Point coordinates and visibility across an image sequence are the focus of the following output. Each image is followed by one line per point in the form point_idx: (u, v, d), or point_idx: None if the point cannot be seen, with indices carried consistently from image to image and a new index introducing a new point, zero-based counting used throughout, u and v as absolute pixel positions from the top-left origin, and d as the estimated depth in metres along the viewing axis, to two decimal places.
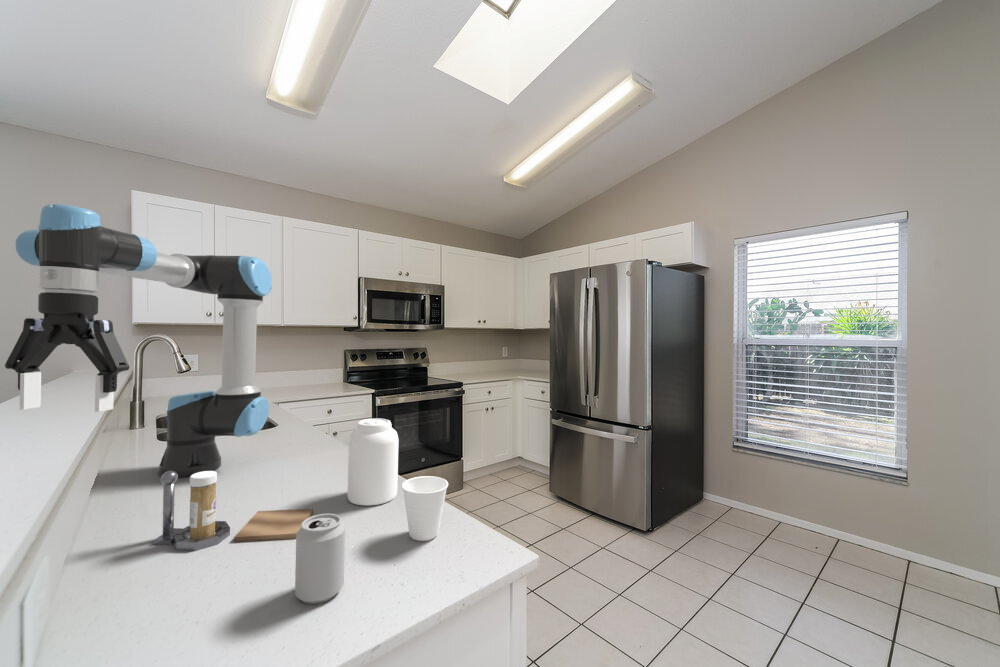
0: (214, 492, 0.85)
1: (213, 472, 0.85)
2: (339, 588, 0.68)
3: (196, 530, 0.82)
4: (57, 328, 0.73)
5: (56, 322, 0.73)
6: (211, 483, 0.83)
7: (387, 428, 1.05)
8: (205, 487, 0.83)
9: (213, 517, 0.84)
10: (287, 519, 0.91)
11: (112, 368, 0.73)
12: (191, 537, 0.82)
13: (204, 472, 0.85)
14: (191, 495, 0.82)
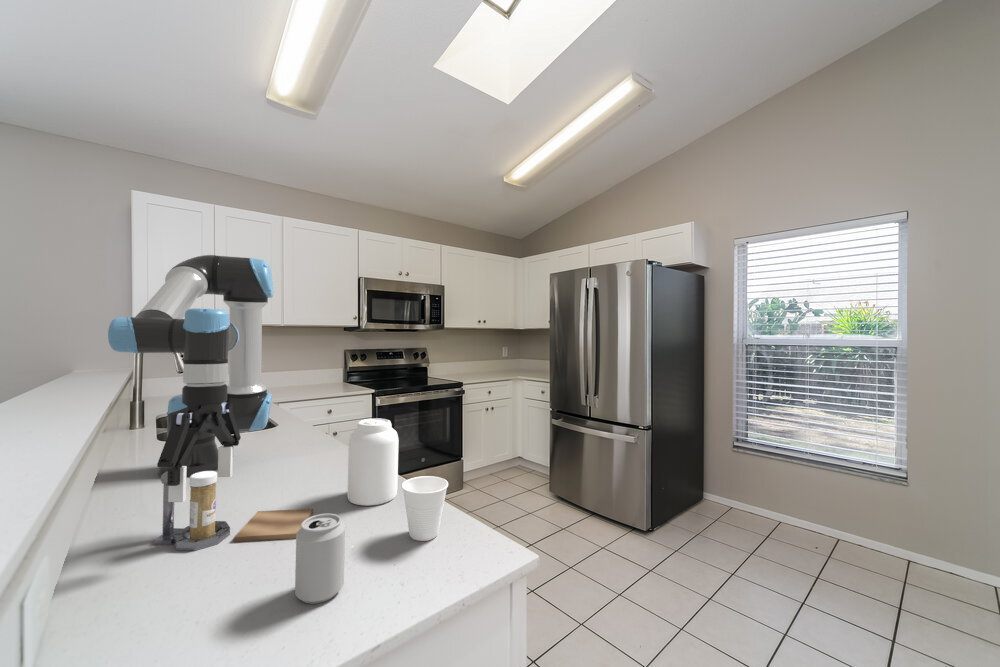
0: (214, 492, 0.85)
1: (213, 472, 0.85)
2: (339, 588, 0.68)
3: (196, 530, 0.82)
4: None
5: None
6: (211, 483, 0.83)
7: (387, 428, 1.05)
8: (205, 487, 0.83)
9: (213, 517, 0.84)
10: (287, 519, 0.91)
11: None
12: (191, 537, 0.82)
13: (204, 472, 0.85)
14: (191, 495, 0.82)
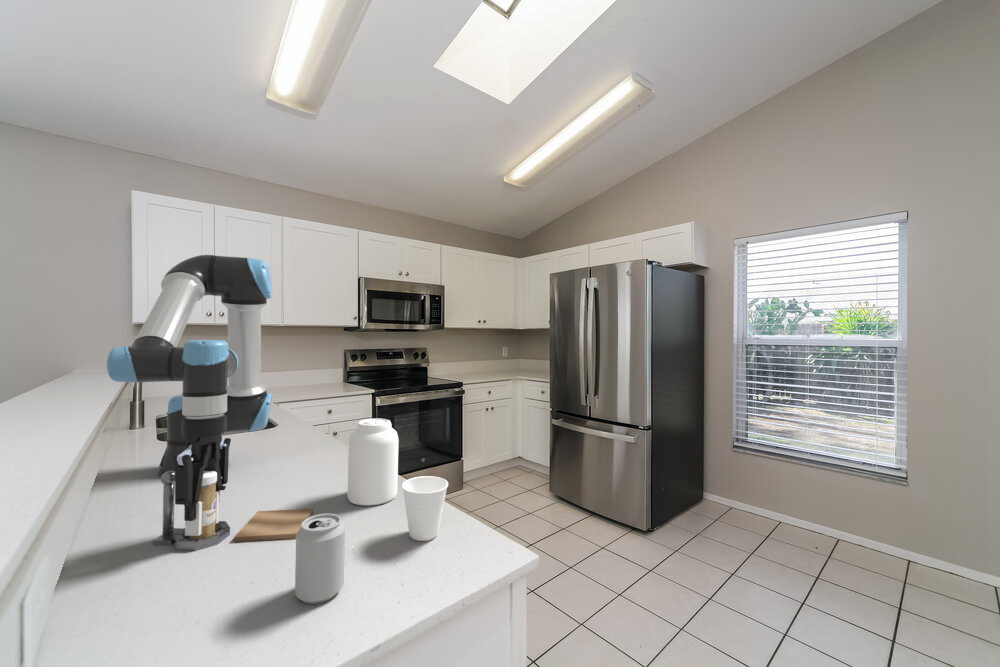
0: (214, 492, 0.85)
1: (213, 472, 0.85)
2: (339, 588, 0.68)
3: None
4: None
5: None
6: (211, 483, 0.83)
7: (387, 428, 1.05)
8: (205, 486, 0.83)
9: (213, 517, 0.84)
10: (287, 519, 0.91)
11: None
12: (191, 537, 0.82)
13: (204, 472, 0.85)
14: None
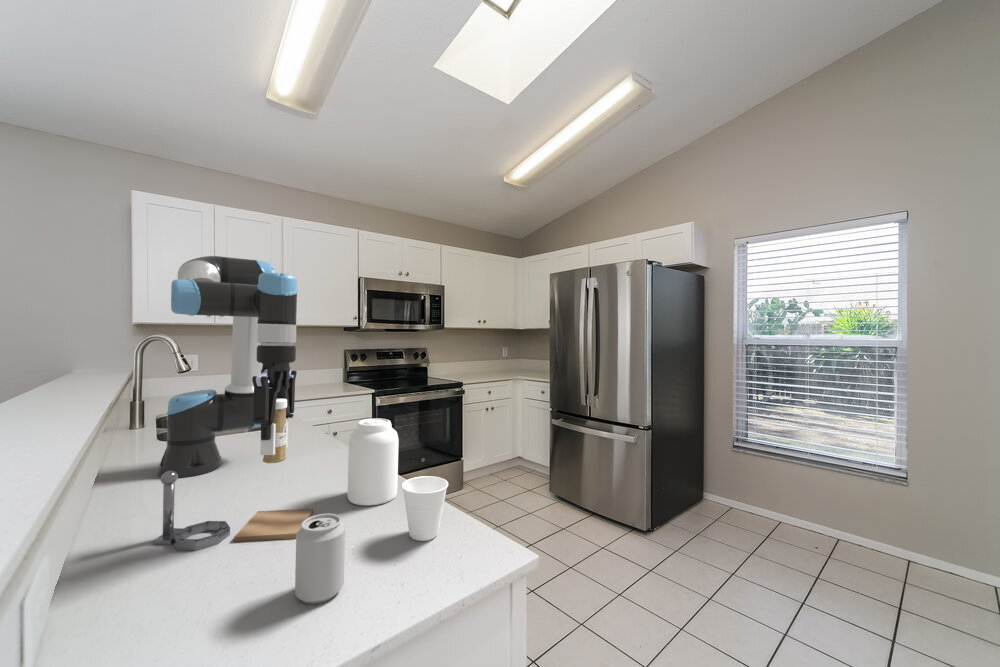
0: (285, 417, 0.90)
1: (284, 399, 0.91)
2: (339, 588, 0.68)
3: None
4: None
5: None
6: (283, 408, 0.89)
7: (387, 428, 1.05)
8: (278, 410, 0.88)
9: (284, 440, 0.90)
10: (287, 519, 0.91)
11: None
12: (265, 457, 0.88)
13: None
14: None
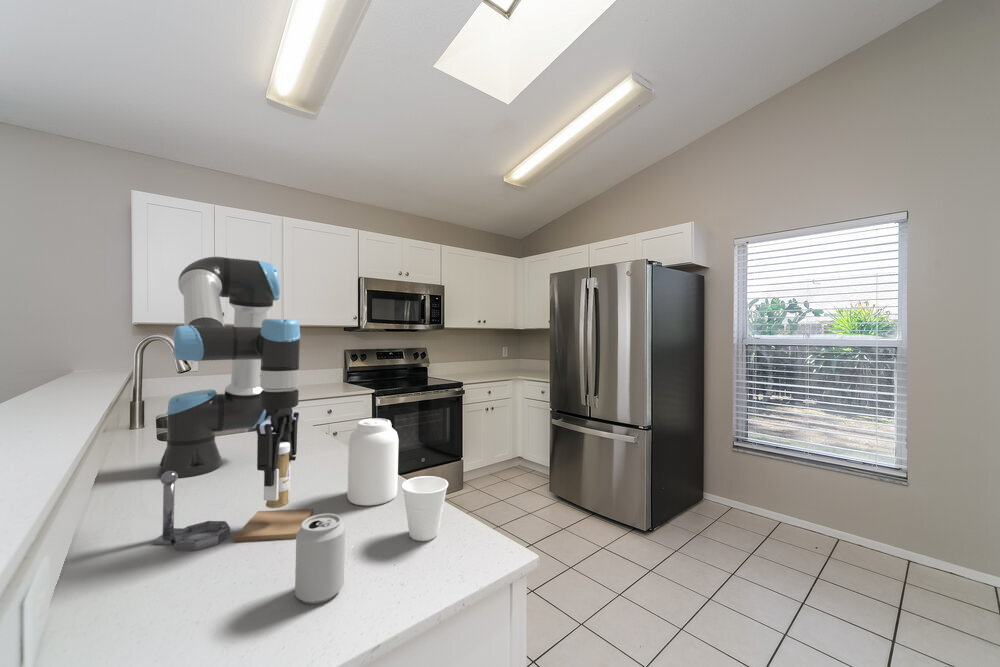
0: (288, 461, 0.91)
1: (286, 442, 0.91)
2: (339, 588, 0.68)
3: None
4: None
5: None
6: (286, 452, 0.90)
7: (387, 428, 1.05)
8: (281, 455, 0.89)
9: (287, 484, 0.90)
10: (287, 519, 0.91)
11: None
12: (268, 502, 0.88)
13: None
14: None
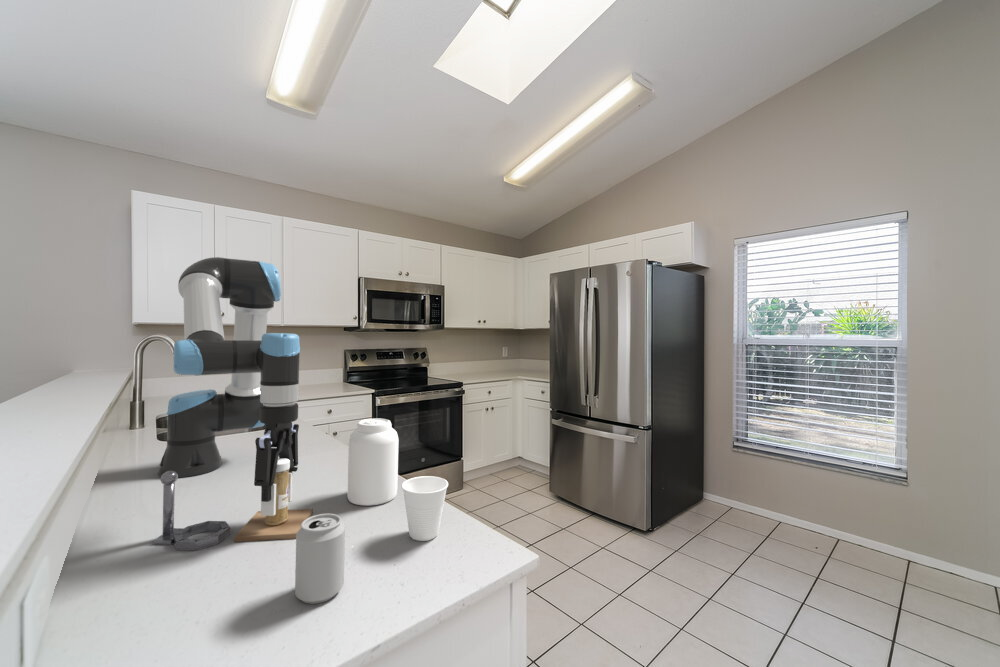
0: (288, 478, 0.91)
1: (286, 459, 0.91)
2: (339, 588, 0.68)
3: None
4: None
5: None
6: (286, 469, 0.90)
7: (387, 428, 1.05)
8: (281, 472, 0.89)
9: (286, 501, 0.90)
10: None
11: None
12: (268, 519, 0.88)
13: (278, 459, 0.91)
14: None
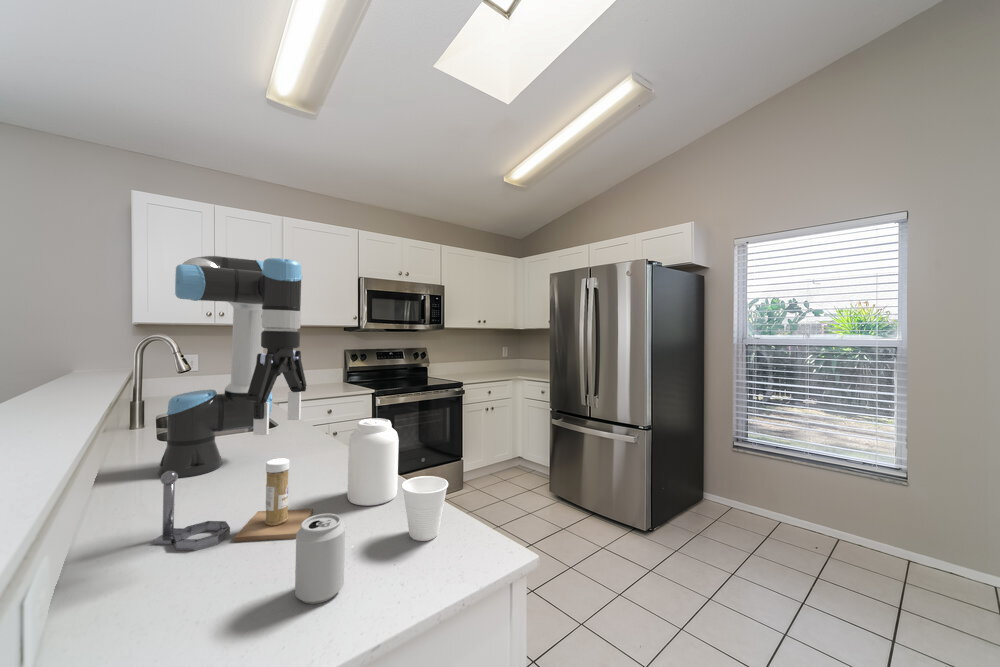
0: (287, 478, 0.91)
1: (286, 459, 0.91)
2: (339, 588, 0.68)
3: (273, 513, 0.88)
4: None
5: None
6: (285, 469, 0.90)
7: (387, 428, 1.05)
8: (280, 472, 0.89)
9: (286, 501, 0.90)
10: None
11: None
12: (268, 519, 0.88)
13: (278, 459, 0.91)
14: (268, 480, 0.89)
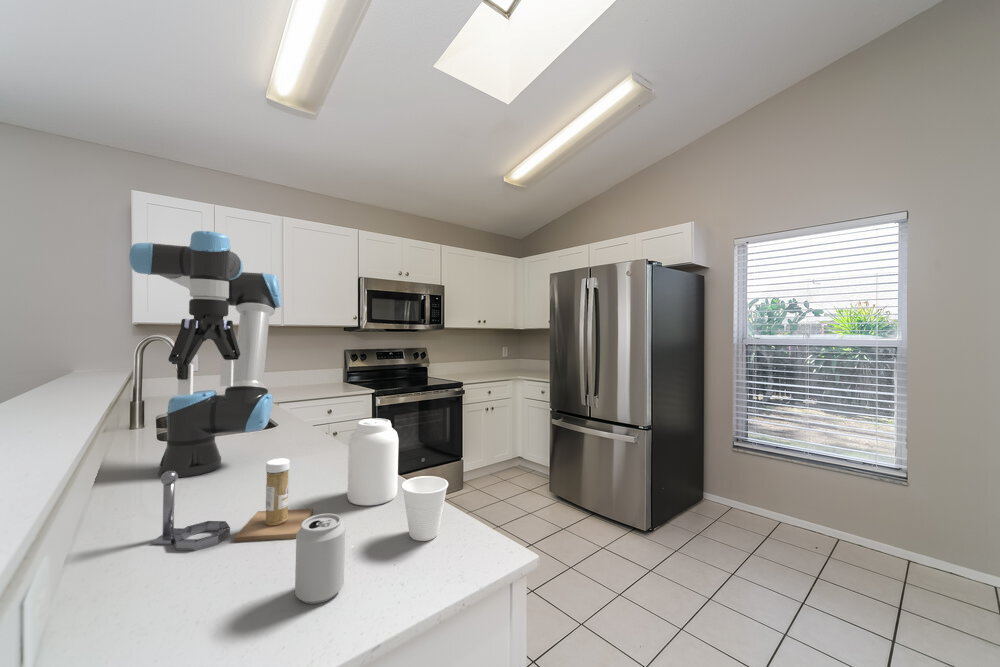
0: (287, 478, 0.91)
1: (286, 459, 0.91)
2: (339, 588, 0.68)
3: (273, 513, 0.88)
4: None
5: None
6: (285, 469, 0.90)
7: (387, 428, 1.05)
8: (280, 473, 0.89)
9: (286, 501, 0.90)
10: None
11: None
12: (268, 519, 0.88)
13: (278, 459, 0.91)
14: (268, 480, 0.88)
